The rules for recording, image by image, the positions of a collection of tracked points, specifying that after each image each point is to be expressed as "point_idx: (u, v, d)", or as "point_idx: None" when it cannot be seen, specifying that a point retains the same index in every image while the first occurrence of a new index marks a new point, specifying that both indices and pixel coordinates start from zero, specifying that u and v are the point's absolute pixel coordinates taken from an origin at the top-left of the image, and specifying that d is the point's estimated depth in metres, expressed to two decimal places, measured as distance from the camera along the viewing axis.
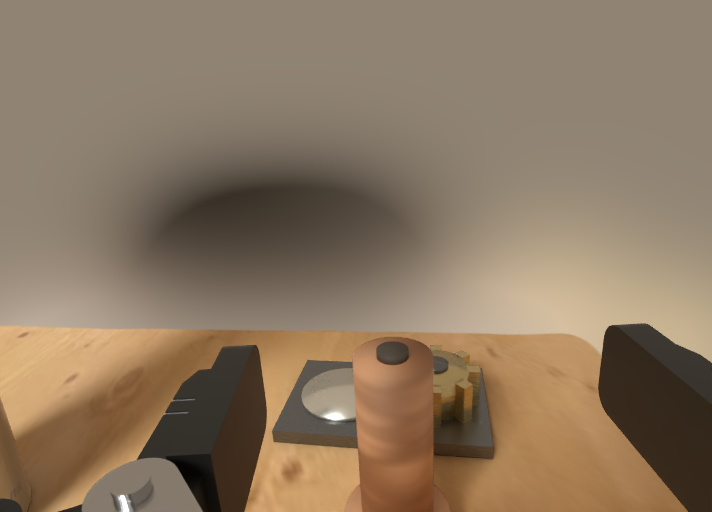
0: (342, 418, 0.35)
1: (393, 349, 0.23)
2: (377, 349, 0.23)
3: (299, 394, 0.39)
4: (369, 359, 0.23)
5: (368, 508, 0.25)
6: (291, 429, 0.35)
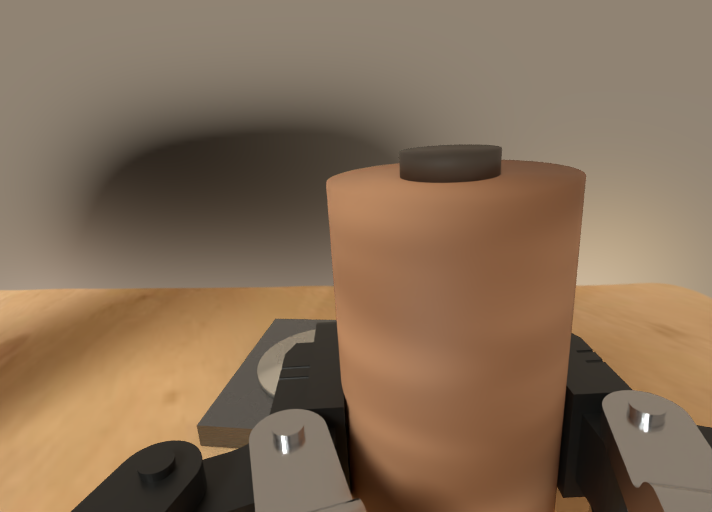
0: None
1: (453, 149, 0.07)
2: (403, 152, 0.07)
3: (255, 366, 0.23)
4: (378, 180, 0.07)
5: None
6: (232, 422, 0.19)
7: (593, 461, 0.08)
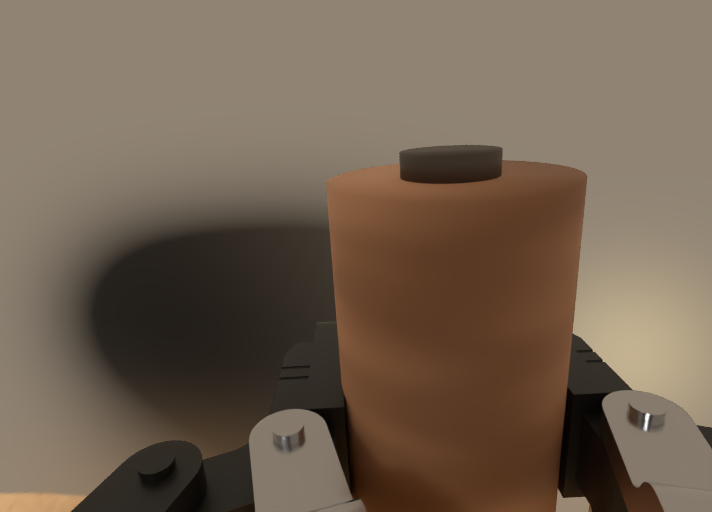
0: None
1: (453, 149, 0.07)
2: (403, 152, 0.07)
3: None
4: (379, 181, 0.07)
5: None
6: None
7: (593, 461, 0.08)
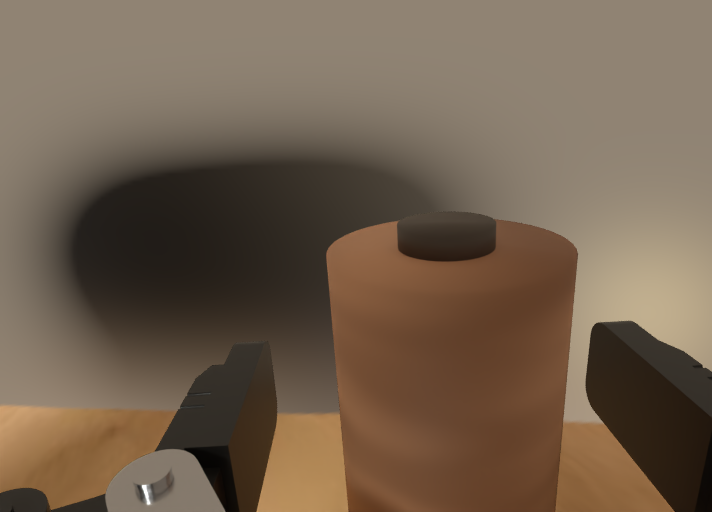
0: None
1: (449, 222, 0.08)
2: (400, 224, 0.08)
3: None
4: (377, 253, 0.08)
5: None
6: None
7: None
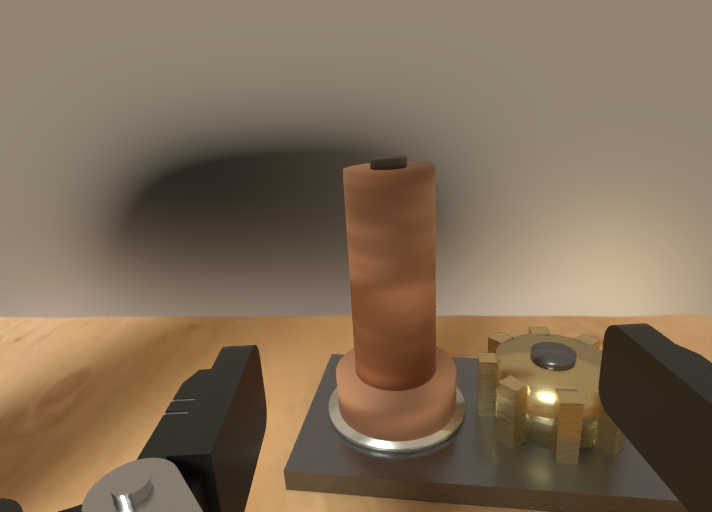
0: (402, 447, 0.21)
1: (389, 157, 0.20)
2: (371, 158, 0.20)
3: (324, 406, 0.25)
4: (362, 169, 0.20)
5: (362, 352, 0.22)
6: (316, 468, 0.20)
7: None
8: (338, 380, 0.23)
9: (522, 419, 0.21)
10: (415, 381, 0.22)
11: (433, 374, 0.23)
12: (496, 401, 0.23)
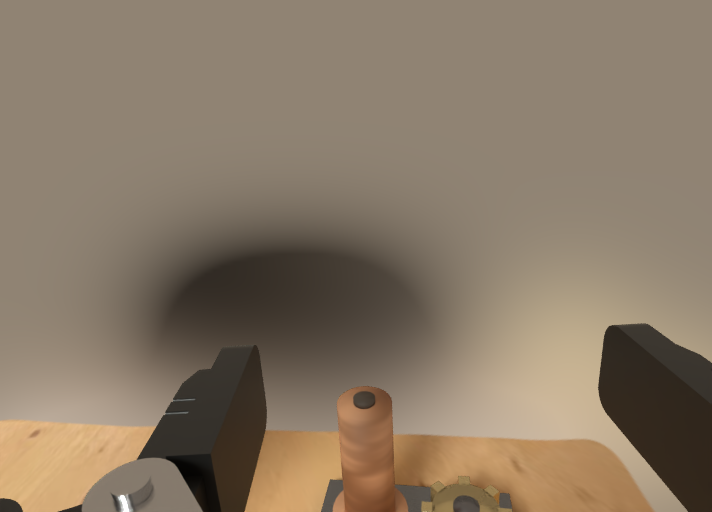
0: None
1: (364, 397, 0.34)
2: (354, 397, 0.34)
3: None
4: (348, 404, 0.34)
5: (348, 506, 0.36)
6: None
7: None
8: None
9: None
10: None
11: None
12: None
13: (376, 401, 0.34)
